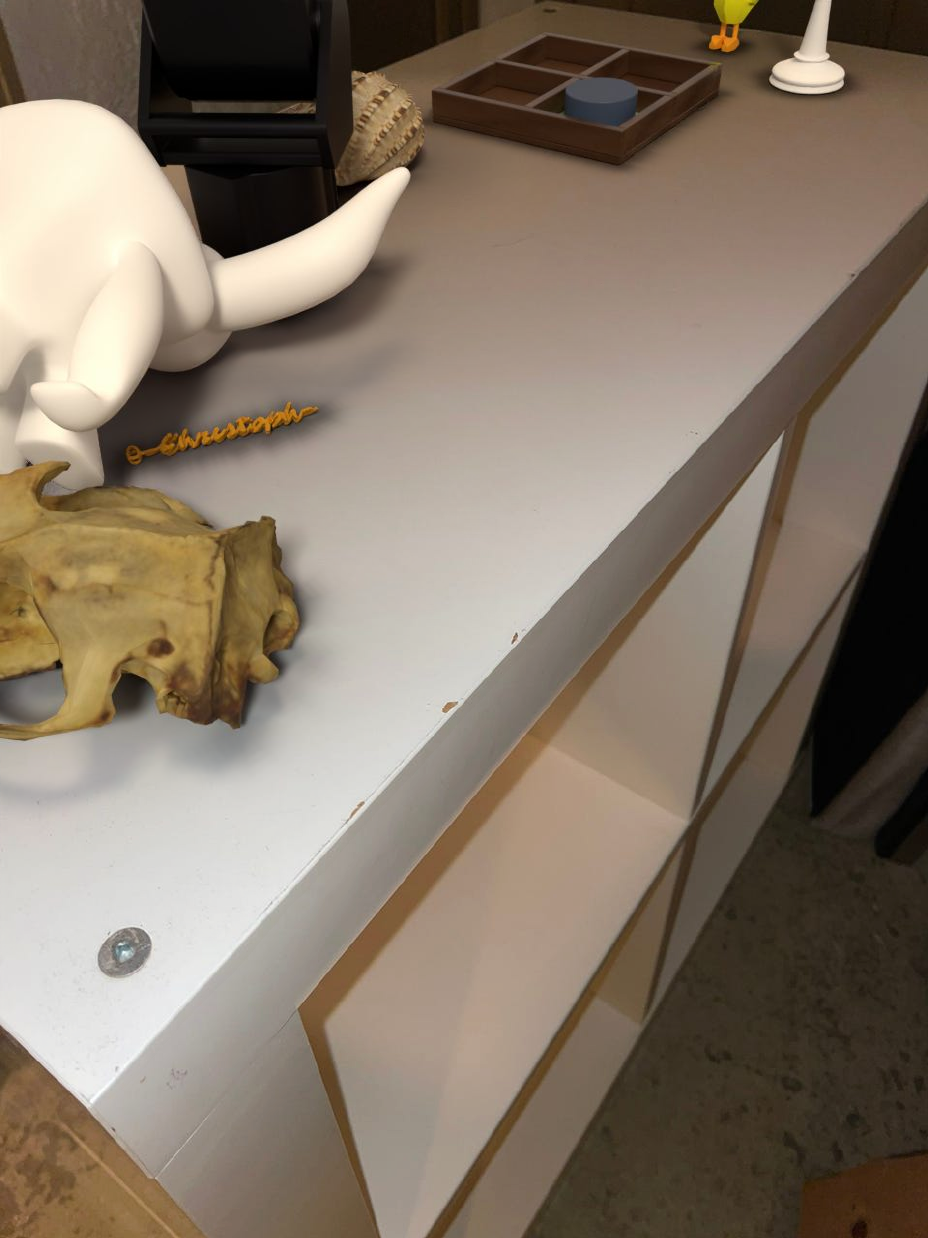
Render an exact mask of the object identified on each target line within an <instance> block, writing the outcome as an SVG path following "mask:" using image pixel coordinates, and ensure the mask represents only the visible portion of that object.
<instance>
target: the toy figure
mask: <svg viewBox="0 0 928 1238" xmlns="http://www.w3.org/2000/svg"><path fill="white" fill-rule="evenodd" d="M713 1H714V2H713V7H714V9H715V12H716V14H717V17H718V19H719V21H720V22H721V26H720V31H719V32H720V33H719V35H718V34H714V35H712V36H711V40H710V42H709V44H708V49H710V50H719V49H721V52H724V53H725V52H726V53H729V52H732V51H735V50H736V49H737V48H738V47H739V45H740V40H739V38H738V34H739V27H740V24H742V23H744V20H745V19H746V18H747V16H748V15H749V14H750V12H751V11H752V9H754V7H755V6H756V5H757V4H758V2H759V0H713ZM727 25H733V28H732V34H731V37H728V36H726V31H727V27H728V26H727Z"/></svg>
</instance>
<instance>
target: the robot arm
mask: <svg viewBox="0 0 928 1238" xmlns="http://www.w3.org/2000/svg"><path fill="white" fill-rule="evenodd" d="M140 5H141V8H142V9H141V25H140V33H141V34H140V52H139V53H140V54H139V74H138V97H137V98H138V99H137V117H136V118H137V122H136V123H137V124H136V125H137V131H138V134H139V137H140V139H141V140H142V141H143V142H144V144H145V145H146V147H147V148H148V150H149V151H150V153H151V154H152V156H153V157H154V158H155V160H156V162H157V163H158V165H159V166H160V168H166V167H168V166H183V168H184V171H185V176H186V180H187V184H188V189H189V194H190V197H191V201H192V206H193V210H194V214H195V219H196V222H197V227H198V231H199V235H200V239H201V243H203V244H205V245H207V246H209V247H210V248H212V249H213V250H215V251H216V252H217V253H219V254H220V255H221V256H222V257H223V258H224V259H227V258H232V257H235V256H239V255H242V254H245V253H248V252H251V251H254V250H257V249H260V248H263V247H266V246H268V245H271V244H274V243H276V242H279V241H281V240H284V239H286V238H288V237H291V236H293V235H296V234H298V233H300V232H302V231H304V230H306V229H308V228H310V227H312V226H314V225H315V224H317V223H319V222H320V221H322V220H323V219H325V218H327V217H328V216H330V215H331V214H333V213H334V212H335V211H337V210H338V209H339V208H340V203H339V194H338V193H339V192H338V186H337V185H336V177H335V169H336V168H337V166H338V164H339V162H340V160H341V157H342V155H343V153H344V151H345V149H346V147H347V145H348V143H349V141H350V138H351V136H352V134H353V131H354V123H353V97H352V72H351V71H352V52H351V51H352V48H351V47H352V46H351V28H350V16H349V8H348V1H347V0H140ZM193 103H207V104H209V103H210V104H211V103H214V104H215V103H217V104H218V103H219V104H221V103H222V104H224V103H225V104H229V103H231V104H241V103H242V104H252V103H253V104H300V103H316V112H315V113H294V112H206V111H205V112H202V111H201V112H199V111H197V112H196V111H195V112H194V111H193V110H194V109H193Z"/></svg>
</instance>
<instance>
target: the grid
mask: <svg viewBox="0 0 928 1238" xmlns="http://www.w3.org/2000/svg"><path fill="white" fill-rule="evenodd" d="M723 65H724V64H723V63H722V62H717V61H711V60H706V59H702V58H701V59H700V58H695V57H689V56H684V55H677V54H671V53H666V52H661V51H655V50H649V49H645V48H639V47H633V46H626V45H620V44H615V43H609V42H606V41H605V42H604V41H599V40H592V39H586V38H582V37H575V36H570V35H565V34H559V33H553V32H547V31H544V32H543V33H540V34H538V35H536V36H534V37H533V38H531V39H529V40H527V41H525V42H523V43H521V44H519V45H517V46H515V47H513V48H511V49H508V50H507V51H506V52H503V53H501V54H499V55H497V56H496V57H494V58H492V59H490V60H488V61H486V62H484V63H482V64H480V65H478V66H476V67H474V68H472V69H470V70H469V71H467V72H464V73H463V74H461V75H459V76H456V77H455V78H453V79H451V80H449V81H447V82H445V83H442V84H441V85H439V86H437V87H435V88H433V89H432V90H431V106H432V121H433V122H434V123H439V124H443V125H447V126H451V127H457V128H460V129H465V130H467V131H468V130H469V131H471V132H477V133H482V134H486V135H489V136H494V137H498V138H502V139H506V140H511V141H516V142H520V143H524V144H529V145H533V146H536V147H540V148H541V147H542V148H545V149H549V150H554V151H557V152H563V153H566V154H570V155H575V156H580V157H584V158H588V159H592V160H597V161H600V162H605V163H609V164H613V165H617V166H619V165H621V164H623V163H624V162H626V161H627V160H628V159H630V158H631V157H632V156H633V155H635V154H636V153H638V152H640V151H641V150H642V149H643V148H645V147H646V146H648V145H649V144H650V143H652V142H653V141H655V140H656V139H658V138H660V136H661V135H663V134H665V133H666V132H668V131H669V130H670V129H672V128H674V126H676V125H677V124H679V123H680V122H681V121H683V120H684V119H686V118H687V117H689V116H691V114H693V113H694V112H696V111H697V110H698V109H700V108H701V107H702V106H704V105H705V104H707V103H708V102H710V101H711V100H712V99H714V98H715V97H717V96H718V95H719V93H720V87H721V86H720V85H721V80H722V79H721V78H722V72H723ZM588 78H615V79H621V80H624V81H627V82H630V83H632V84H634V85H635V86H636V87H637V89H638V95H637V106H636V115H635V116H633V117H632V118H630V119H629V120H627V121H626V122H624V123H623V124H621V125H620V126H619V127H616V126H612V125H607V124H603V123H598V122H593V121H589V120H584V119H579V118H575V117H570V116H566V115H564V111H565V90H566V88H567V86H568V85H570V84H571V83H573V82H576V81H579V80H583V79H588Z"/></svg>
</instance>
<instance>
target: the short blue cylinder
mask: <svg viewBox="0 0 928 1238" xmlns="http://www.w3.org/2000/svg"><path fill="white" fill-rule="evenodd" d="M637 95H638V89H637V87H636V86H635V85H634V84H632V83H630V82H627V81H624V80H621V79H615V78H588V79H583V80H579V81H576V82H573V83H571V84H570V85H568V86H567V88H566V90H565V111H564V115H566V116H570V117H575V118H579V119H584V120H589V121H593V122H598V123H603V124H607V125H612V126H616V127H619V126H620V125H621V124H623V123H624V122H626V121H627V120H629V119H630V118H632V117H633V116H635V115H636V106H637Z"/></svg>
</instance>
